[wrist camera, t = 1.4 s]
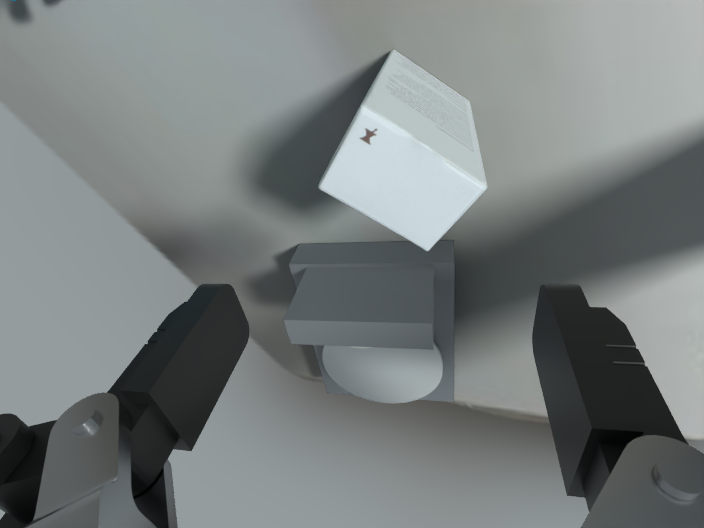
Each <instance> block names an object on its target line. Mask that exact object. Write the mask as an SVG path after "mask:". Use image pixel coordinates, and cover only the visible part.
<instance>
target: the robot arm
mask: <svg viewBox="0 0 704 528" xmlns="http://www.w3.org/2000/svg"><path fill="white" fill-rule="evenodd" d="M248 338H249V325H248V321H247V319H246V317H245V314H244V312H243V310H242V307H241V305H240V302H239V300H238V298H237V295H236V293H235V291H234V289H233V287H232V286H231V285H229V284H202V285H200V286H199V287H198V288H197V289H196V291H195V292H194V293H193V295H192V296H191V297H190V299H189V300H188V301H187V302H184V303H183V304H182V305H180V306H179V307H178V308H176V309H175V310H174V311H173V312H171V313H170V314H169V315H168V316H167V317H166V319H165V320H164V321H163V322H162V324H161V325H160V326H159V328H158V329H157V332H155V333H154V334H153V335H152V336H151V338H150V339H149V340H148V344H145V345H144V347H143V348H142V349H141V350H140V352H139V353H138V354H137V355H136V357H135V358H134V359H133V360H132V362H131V363H130V364H129V366H128V367H127V368H126V369H125V371H124V372H123V373H122V375H121V376H120V377H119V378H118V380H117V381H116V382H115V383H114V385H113V386H112V387H111V388H110V390H109V391H108V392H107V393H97V394H93V395H91V396H88V397H86V398H84V399H82V400H80V401H78V402H77V403H75V404H74V405H73V406H71V407H70V408H69V409H67V410H66V411H65V412H64V413H63V414H62V415H61V416H60V418H59V419H58V420H55V421H50V422H46V423H42V424H38V425H33V426H29V427H28V426H27V425H26V424H25V423H24V422H23V421H21V420H20V419H19V418H18V417H17V416H16V415H13V414H1V415H0V509H1V510H3V511H4V512H6V513H5V514H4V516H3V517H2V518H1V520H0V528H178V527H177V517H176V508H175V499H174V489H173V479H172V470H171V464H170V462H169V461H168V457H169V455H170V454H171V452H172V450H173V449H178V450H186V451H192V449H193V447H194V445H195V443H196V441H197V439H198V437H199V435H200V434H201V432H202V430H203V428H204V426H205V424H206V422H207V420H208V418H209V416H210V414H211V412H212V410H213V408H214V406H215V405H216V403H217V401H218V399H219V397H220V395H221V393H222V391H223V389H224V387H225V385H226V383H227V381H228V379H229V377H230V375H231V373H232V371H233V370H234V368H235V366H236V364H237V362H238V360H239V358H240V356H241V354H242V352H243V350H244V348H245V346H246V344H247V342H248ZM532 343H533V353H534V358H535V363H536V367H537V371H538V375H539V379H540V384H541V388H542V392H543V396H544V400H545V405H546V409H547V413H548V417H549V421H550V426H551V430H552V434H553V438H554V442H555V447H556V451H557V454H558V459H559V463H560V467H561V472H562V476H563V480H564V484H565V488H566V493H567V496H576V497H585V498H586V501H587V505H588V509H589V514H588V515H587V517H586V519H585V521H584V523H583V524H582V526H581V528H704V454H703V453H702V452H700V451H699V450H697V449H696V448H694V447H692V446H690V445H689V444H688V443H687V442H686V440H685V438H684V437H683V435H682V433H681V431H680V430H679V428H678V426H677V424H676V422H675V420H674V418H673V416H672V414H671V412H670V410H669V408H668V406H667V404H666V402H665V400H664V398H663V397H662V395H661V393H660V391H659V389H658V387H657V385H656V383H655V381H654V379H653V377H652V375H651V373H650V371H649V369H648V367H647V366H645V364H644V363H645V362H644V360H643V358H642V356H641V354H640V352H639V350H638V349H636V344H635V342H634V340H633V338H632V336H631V334H630V332H629V330H628V329H627V327H626V325H625V324H624V323H623V322H622V321H621V320H620V319H618V318H617V317H616V316H615V315H614V314H613V313H612V312H611V311H609V310H608V309H607V308H600V307H589V305H588V302H587V300H586V298H585V296H584V293H583V291H582V289H581V287H580V286H579V285H542V286H541V288H540V291H539V297H538V303H537V309H536V315H535V321H534V327H533V335H532Z"/></svg>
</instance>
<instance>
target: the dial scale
mask: <svg viewBox="0 0 704 528" xmlns="http://www.w3.org/2000/svg"><path fill="white" fill-rule="evenodd" d="M289 267H290V271H291V274H292V277H293V281H294V284H295V287H296V293H295V295H294V297H293V299H292V301H291V304H290V306H289V308H288V310H287V312H286V315H285V317H284V319H283V321H284V324H285V327H286V330H287V333H288V336H289V339H290V341H291V344H302V345H313V347H314V350H315V354H316V357H317V360H318V364H319V367H320V370H321V374H322V377H323V380H324V384H325V387H326V390H327V393H333V394H348V395H356V396H359V397H361V398H364V399H368V400H371V401H376V402H383V403H404V402H410V401H413V400H417V399H420V400H434V401H449V402H454V300H455V258H454V240H438V241H437V242H436V243H435V244H434V246H433V247H432V248H431V249H430V250H429V251H426V250H424V249H423V248H421V247H419V246H417V245H416V244H414V243H412V242H411V241H396V242H356V243H316V244H299V245H298V247H297V249H296V251H295V253H294V255H293V257H292V259H291V261H290V263H289Z"/></svg>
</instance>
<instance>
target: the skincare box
mask: <svg viewBox="0 0 704 528" xmlns="http://www.w3.org/2000/svg"><path fill="white" fill-rule="evenodd" d="M318 187H319V189H320V190H322V191H324V192H325V193H327V194H329V195H330V196H332V197H334V198H336V199H337V200H339V201H341V202H343V203H344V204H346V205H348V206H349V207H351V208H353V209H355V210H356V211H358V212H360V213H362V214H363V215H365V216H367V217H369V218H370V219H372V220H374V221H376V222H378V223H379V224H381V225H383V226H385V227H386V228H388V229H390V230H392V231H393V232H395V233H397V234H398V235H400V236H402V237H404V238H406V239H407V240H409V241H411V242H412V243H414V244H416V245H417V246H419V247H421V248H423V249H424V250H426V251H429V250H430V249H431V248H432V247H433V246H434V244H435V243H436V242H437V241H438V240H439V239H440V238H441V237H442V236H443V235H444V234H445V233H446V232H447V231H448V230H449V229H450V228H451V227H452V225H453V224H454V223H455V222H456V221H457V220H458V219H459V218H460V217H461V216H462V215H463V214H464V213H465V212H466V211H467V210H468V208H469V207H470V206H471V205H472V204H473V203H474V202H475V201H476V200H477V199H478V198H479V197H480V196H481V194H482V193H483V192H484V191H485V190H486V189H487V182H486V178H485V172H484V168H483V164H482V159H481V154H480V149H479V144H478V139H477V135H476V130H475V125H474V120H473V115H472V110H471V105H470V102H469V101H468V100H467V99H465V98H464V97H462V96H461V95H460V94H458V93H457V92H455V91H454V90H452V89H451V88H449V87H448V86H446V85H445V84H443V83H442V82H441V81H439V80H438V79H436V78H435V77H433V76H432V75H430V74H429V73H427V72H426V71H425V70H423V69H422V68H420V67H419V66H417V65H416V64H414V63H413V62H411V61H410V60H408V59H407V58H406V57H404V56H403V55H401V54H400V53H398V52H397V51H395V50H394V49H393V50H392V51H391V52H390V54H389V55H388V57H387V59H386V60H385V62H384V64H383V66H382V67H381V69H380V71H379V73H378V74H377V76H376V78H375V80H374V82H373V83H372V85H371V87H370V89H369V90H368V92H367V94H366V96H365V98H364V100H363V101H362V103H361V105H360V107H359V109H358V111H357V113H356V115H355V116H354V118H353V120H352V122H351V124H350V126H349V128H348V129H347V131H346V133H345V135H344V137H343V139H342V140H341V142H340V144H339V146H338V148H337V150H336V152H335V153H334V155H333V157H332V159H331V161H330V163H329V165H328V167H327V169H326V171H325V172H324V174H323V176H322V178H321V180H320V182H319V186H318Z"/></svg>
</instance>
